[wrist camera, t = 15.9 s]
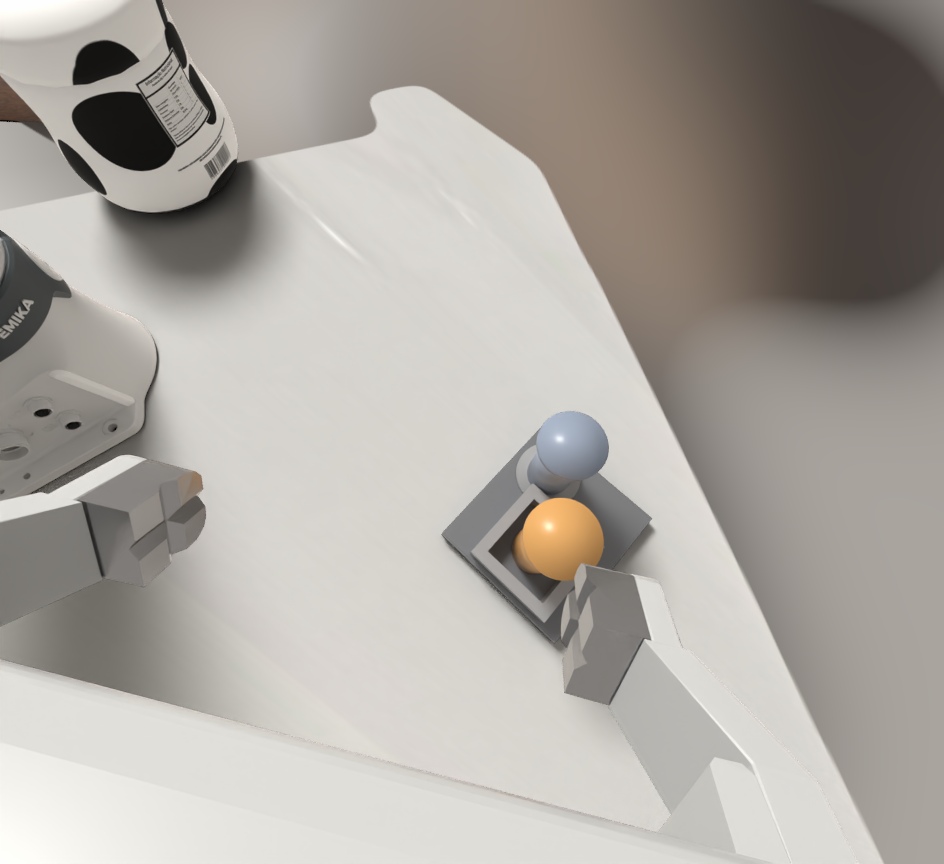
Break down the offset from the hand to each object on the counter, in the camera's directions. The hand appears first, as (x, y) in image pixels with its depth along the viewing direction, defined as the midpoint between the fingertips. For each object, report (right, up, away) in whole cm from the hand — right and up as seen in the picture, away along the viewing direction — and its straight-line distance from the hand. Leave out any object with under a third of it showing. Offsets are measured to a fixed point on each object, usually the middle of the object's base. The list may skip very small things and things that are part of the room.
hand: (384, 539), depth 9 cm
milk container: (-34, +34, +44) cm, 65 cm away
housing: (+9, -7, +31) cm, 33 cm away
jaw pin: (+7, -8, +29) cm, 31 cm away
